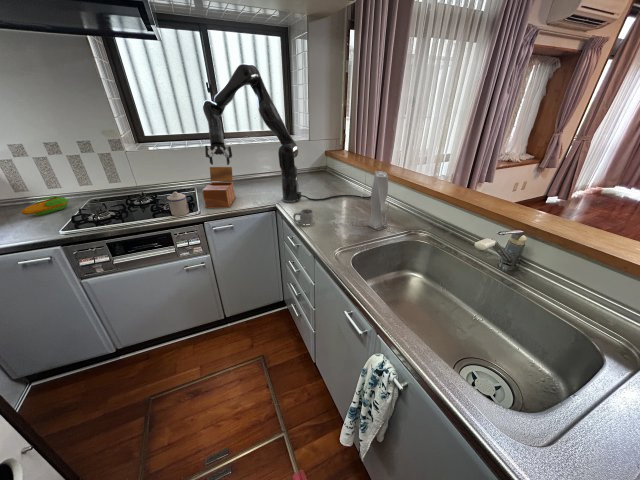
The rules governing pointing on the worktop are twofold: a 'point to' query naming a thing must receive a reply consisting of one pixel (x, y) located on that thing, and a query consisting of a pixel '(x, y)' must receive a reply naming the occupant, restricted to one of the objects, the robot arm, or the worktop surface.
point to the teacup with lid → (178, 204)
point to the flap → (221, 174)
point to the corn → (46, 206)
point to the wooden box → (218, 195)
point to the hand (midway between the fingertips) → (220, 164)
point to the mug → (305, 217)
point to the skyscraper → (379, 201)
